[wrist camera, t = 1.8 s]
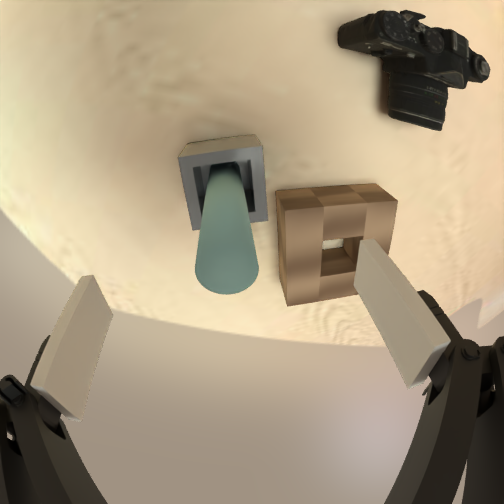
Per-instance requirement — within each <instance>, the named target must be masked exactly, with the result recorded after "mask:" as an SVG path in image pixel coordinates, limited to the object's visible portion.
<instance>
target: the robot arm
mask: <svg viewBox="0 0 504 504" xmlns="http://www.w3.org/2000/svg"><path fill="white" fill-rule="evenodd" d="M354 287H355V289H356V290H357V292H358V294H359V296H360V297H361V299H362V301H363V303H364V304H365V306H366V308H367V310H368V312H369V313H370V315H371V317H372V319H373V321H374V323H375V325H376V326H377V328H378V330H379V332H380V334H381V336H382V338H383V340H384V342H385V344H386V346H387V347H388V349H389V351H390V353H391V355H392V357H393V359H394V361H395V363H396V365H397V367H398V370H399V372H400V374H401V376H402V378H403V380H404V382H405V384H406V386H407V388H408V389H410V388H412V387H415V386H417V385H420V384H422V383H423V382H424V381H425V380H426V378H427V376H428V375H429V377H430V378H431V382H430V384H429V385H428V386H427V388H426V389H425V390H424V392H423V394H422V395H425V394H426V393H427V396H426V400H425V403H424V407H423V410H422V413H421V417H420V420H419V423H418V426H417V429H416V432H415V435H414V438H413V441H412V443H411V446H410V449H409V451H408V454H407V456H406V458H405V461H404V463H403V466H402V468H401V470H400V472H399V475H398V477H397V479H396V481H395V483H394V485H393V487H392V490H391V491H390V494H389V496H388V497H387V499H386V501H385V503H384V504H452V502H453V500H454V497H455V495H456V491H457V489H458V486H459V483H460V480H461V477H462V474H463V471H464V468H465V464H466V461H467V469H466V479H465V487H464V493H463V499H462V504H504V336H503V337H499V338H498V339H497V340H496V342H495V343H494V344H493V345H492V346H481V347H479V346H478V344H476V343H475V342H474V341H472V340H469V339H463V338H462V337H461V335H460V334H459V332H458V331H457V330H456V328H455V327H454V325H453V324H452V322H451V321H450V320H449V318H448V317H447V315H446V314H444V311H443V310H442V309H441V307H439V305H438V303H437V302H436V301H435V299H434V298H433V297H432V296H431V295H429V294H428V293H427V292H425V291H424V290H421V291H418V292H417V291H416V290H415V289H414V287H413V286H412V285H411V284H410V282H409V281H408V280H407V278H406V277H405V276H404V275H403V273H402V272H401V271H400V270H399V268H398V267H397V266H396V265H395V263H394V262H393V261H392V260H391V258H390V257H389V256H388V255H387V254H386V252H385V251H384V250H383V249H382V248H381V246H380V245H379V244H378V243H377V242H376V241H375V239H368V240H360V246H359V253H358V260H357V267H356V273H355V279H354ZM112 317H113V313H112V311H111V309H110V307H109V306H108V304H107V302H106V300H105V298H104V296H103V294H102V292H101V290H100V288H99V286H98V284H97V282H96V279H95V277H94V275H89V276H82V277H81V279H80V280H79V282H78V284H77V286H76V287H75V289H74V291H73V293H72V295H71V296H70V298H69V300H68V302H67V304H66V306H65V308H64V310H63V311H62V313H61V316H60V317H59V319H58V321H57V324H56V325H55V328H54V329H53V332H52V334H51V335H49V336H48V337H47V338H46V339H45V341H44V342H43V343H42V345H41V347H40V349H39V352H38V354H37V356H36V359H35V361H34V363H33V365H32V368H31V370H30V373H29V375H28V379H27V381H26V383H25V386H23V385H22V384H21V383H20V382H19V381H18V380H17V379H16V378H15V377H14V376H13V375H7V376H5V377H3V379H1V381H0V397H1V398H0V504H107V502H106V500H105V499H104V497H103V496H102V494H101V493H100V491H99V490H98V488H97V486H96V485H95V483H94V482H93V480H92V478H91V477H90V475H89V473H88V471H87V469H86V468H85V466H84V464H83V462H82V460H81V458H80V456H79V454H78V452H77V450H76V448H75V446H74V444H73V442H72V440H71V438H70V436H69V434H68V431H67V429H66V426H65V424H64V422H63V421H62V420H61V419H60V416H61V413H62V414H63V415H64V416H65V417H67V418H68V419H69V420H74V421H79V422H82V420H83V415H84V411H85V407H86V402H87V399H88V395H89V391H90V387H91V383H92V379H93V376H94V372H95V369H96V366H97V362H98V358H99V355H100V352H101V349H102V346H103V343H104V340H105V337H106V334H107V331H108V328H109V325H110V322H111V320H112ZM494 384H495V390H494ZM427 391H428V392H427ZM7 432H8V433H9V434H11V435H12V437H13V439H12V440H10V439H9V438H7Z"/></svg>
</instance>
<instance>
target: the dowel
mask: <svg viewBox="0 0 504 504" xmlns="http://www.w3.org/2000/svg"><path fill="white" fill-rule="evenodd" d="M258 271H259V266H258V261H257V256H256V250H255V245H254V240H253V235H252V229H251V224H250V219H249V214H248V208H247V203H246V198H245V193H244V188H243V182H242V177H241V172H240V167H239V165H238V163H237V162H236V161H233V162H225V163H218V164H212V165H211V167H210V172H209V177H208V183H207V189H206V195H205V201H204V208H203V214H202V221H201V227H200V234H199V241H198V249H197V256H196V264H195V273H196V277H197V279H198V281H199V282H200V283H201V284H202V286H204V287H205V288H206V289H208V290H210V291H212V292H215V293H218V294H235V293H239V292H241V291H243V290H245V289H247V288H248V287H249V286H251V285H252V284H253V282H254V281H255V280H256V278H257V275H258Z"/></svg>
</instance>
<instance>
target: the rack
mask: <svg viewBox="0 0 504 504" xmlns="http://www.w3.org/2000/svg"><path fill="white" fill-rule="evenodd" d="M397 204H398V200H396V199H395V198H394V197H393V196H391V195H390V194H389V193H387V192H386V191H385V190H384V189H382V188H381V187H380V186H378V185H377V184H358V185H342V186H327V187H314V188H302V189H292V190H281V191H276V206H277V225H278V246H279V269H280V282H281V285H282V289H283V293H284V296H285V300H286V304H287V306H293V305H300V304H306V303H312V302H318V301H324V300H330V299H336V298H341V297H347V296H352V295H357V294H358V292H357V290H356V289H355V287H354V279H355V273H356V267H357V260H358V253H359V246H360V240H368V239H375V241H376V242H377V243H378V244H379V245H380V246H381V248H382V249H383V250H384V251H385V252H386V254H387V255H388V254H389V249H390V244H391V239H392V234H393V229H394V223H395V217H396V210H397ZM341 238H344V244H343V247H341V248H334V249H326V250H322V242H323V241H325V240H333V239H341Z"/></svg>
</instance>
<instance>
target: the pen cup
mask: <svg viewBox="0 0 504 504" xmlns="http://www.w3.org/2000/svg"><path fill="white" fill-rule="evenodd" d="M178 160H179V166H180V171H181V176H182V181H183V187H184V192H185V197H186V201H187V206H188V211H189V216H190V220H191V225H192V230H200V227H201V221H202V214H203V208H204V201H205V195H206V189H207V183H208V177H209V172H210V167H211V165H212V164H218V163H225V162H233V161H236V162H237V163H238V165H239V167H240V172H241V177H242V182H243V188H244V193H245V198H246V203H247V208H248V214H249V219H250V223H254V222H262V221H268V212H267V198H266V185H265V172H264V160H263V148H262V145H261V143H260V142H259V140H258V139H257V137H256V136H255V134H254V135H245V136H236V137H228V138H220V139H213V140H206V141H200V142H193V143H188V144H187V145H186V146H185V148H184V149H183V151H182V152H181V154H180V155H179V157H178Z"/></svg>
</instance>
